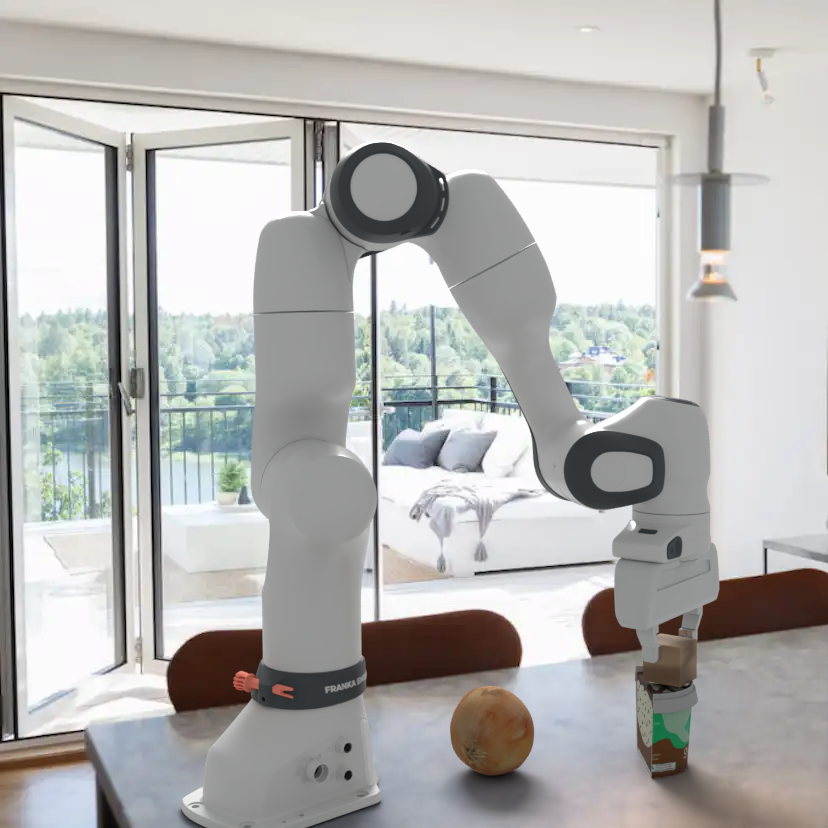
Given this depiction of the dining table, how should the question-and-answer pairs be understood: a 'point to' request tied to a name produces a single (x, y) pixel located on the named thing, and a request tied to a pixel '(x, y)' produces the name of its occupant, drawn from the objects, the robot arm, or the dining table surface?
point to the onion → (492, 730)
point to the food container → (663, 725)
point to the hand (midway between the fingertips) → (670, 652)
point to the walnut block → (673, 662)
